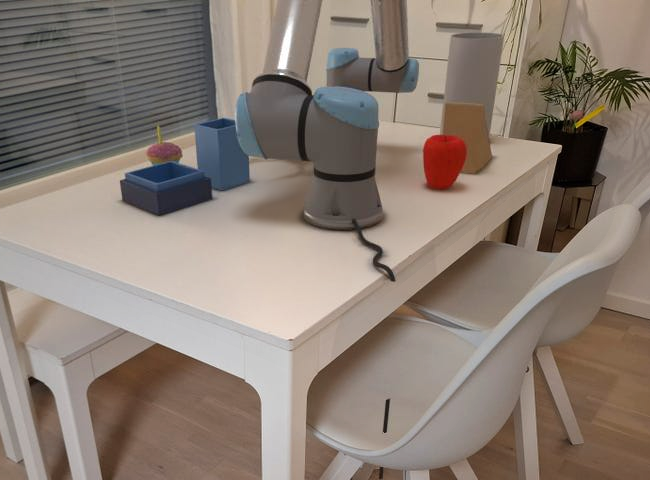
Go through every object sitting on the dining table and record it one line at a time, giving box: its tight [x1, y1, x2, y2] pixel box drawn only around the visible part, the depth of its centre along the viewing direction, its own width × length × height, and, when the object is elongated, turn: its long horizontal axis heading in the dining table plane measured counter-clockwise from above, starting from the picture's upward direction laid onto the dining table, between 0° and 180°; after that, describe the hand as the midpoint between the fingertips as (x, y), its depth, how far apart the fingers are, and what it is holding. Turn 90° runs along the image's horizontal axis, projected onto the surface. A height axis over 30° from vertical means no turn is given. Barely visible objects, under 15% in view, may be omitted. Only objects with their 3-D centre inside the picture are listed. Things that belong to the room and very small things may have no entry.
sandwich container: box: [443, 102, 493, 175], centre depth 156 cm, size 9×15×15 cm, turn 148°
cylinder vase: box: [439, 32, 505, 137], centre depth 170 cm, size 12×12×25 cm
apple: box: [422, 134, 467, 190], centre depth 143 cm, size 9×9×11 cm
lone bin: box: [193, 117, 251, 192], centre depth 150 cm, size 8×8×13 cm
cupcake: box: [145, 122, 183, 166], centre depth 158 cm, size 9×8×12 cm
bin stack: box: [119, 161, 213, 217], centre depth 143 cm, size 14×14×6 cm
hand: (249, 140), depth 154 cm, fingers open, 13 cm apart
